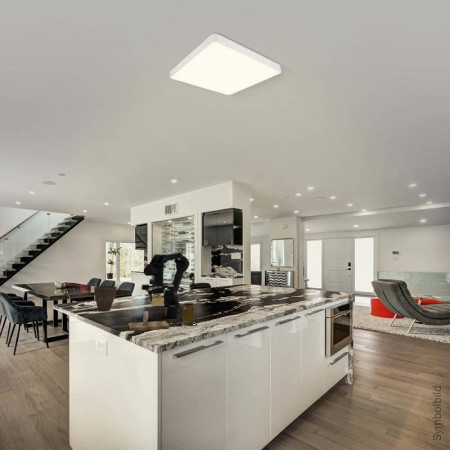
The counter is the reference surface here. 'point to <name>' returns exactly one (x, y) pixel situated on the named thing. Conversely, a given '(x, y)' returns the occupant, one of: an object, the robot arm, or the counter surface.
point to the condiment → (188, 314)
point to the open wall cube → (157, 301)
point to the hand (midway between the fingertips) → (157, 301)
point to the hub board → (148, 324)
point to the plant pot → (104, 297)
